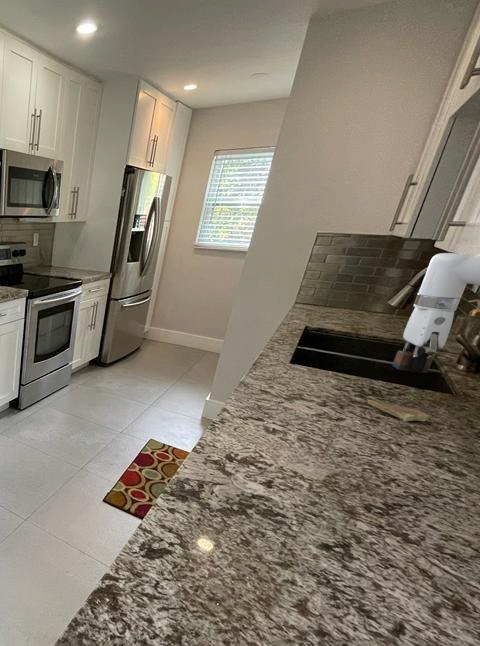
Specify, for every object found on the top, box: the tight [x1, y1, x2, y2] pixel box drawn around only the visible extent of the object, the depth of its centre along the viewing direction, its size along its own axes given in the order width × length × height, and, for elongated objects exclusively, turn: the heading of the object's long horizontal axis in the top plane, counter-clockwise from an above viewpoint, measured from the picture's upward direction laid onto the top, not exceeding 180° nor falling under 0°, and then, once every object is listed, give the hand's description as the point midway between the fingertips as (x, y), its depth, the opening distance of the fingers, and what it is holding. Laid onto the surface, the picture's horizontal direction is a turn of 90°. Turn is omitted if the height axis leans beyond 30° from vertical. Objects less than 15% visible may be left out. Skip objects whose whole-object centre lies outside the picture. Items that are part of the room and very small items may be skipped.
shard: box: [366, 398, 431, 422], centre depth 110 cm, size 11×8×2 cm
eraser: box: [392, 350, 435, 374], centre depth 112 cm, size 6×4×4 cm, turn 64°
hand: (409, 368), depth 112 cm, fingers closed on eraser, 3 cm apart
